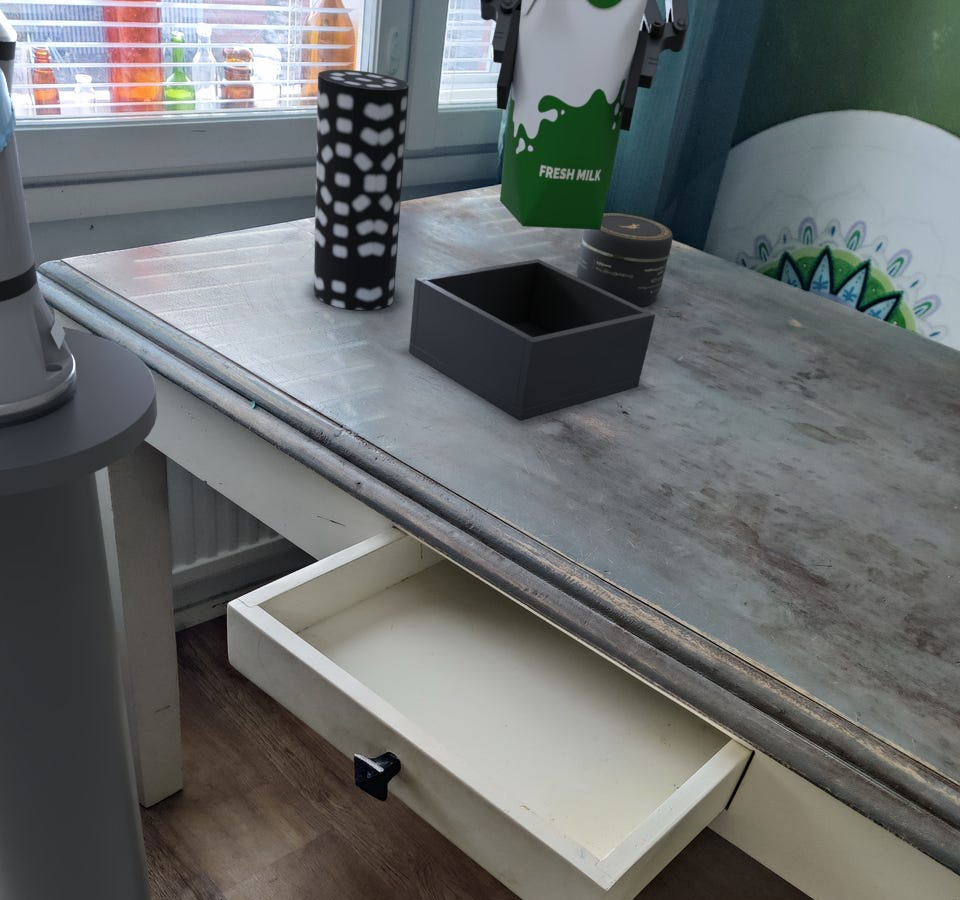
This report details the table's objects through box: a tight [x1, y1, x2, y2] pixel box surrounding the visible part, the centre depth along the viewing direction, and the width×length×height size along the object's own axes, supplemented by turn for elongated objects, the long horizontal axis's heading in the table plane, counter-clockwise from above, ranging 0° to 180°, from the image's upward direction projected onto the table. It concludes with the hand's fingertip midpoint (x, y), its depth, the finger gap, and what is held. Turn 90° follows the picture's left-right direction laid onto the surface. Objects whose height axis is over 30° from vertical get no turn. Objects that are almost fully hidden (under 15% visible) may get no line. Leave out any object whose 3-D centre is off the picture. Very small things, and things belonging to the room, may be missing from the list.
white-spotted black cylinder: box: [313, 69, 410, 311], centre depth 97 cm, size 8×8×20 cm
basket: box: [408, 258, 656, 421], centre depth 91 cm, size 16×16×7 cm
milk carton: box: [499, 0, 647, 230], centre depth 79 cm, size 9×9×20 cm
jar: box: [576, 212, 674, 308], centre depth 111 cm, size 10×10×8 cm
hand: (563, 108), depth 77 cm, fingers closed on milk carton, 9 cm apart
